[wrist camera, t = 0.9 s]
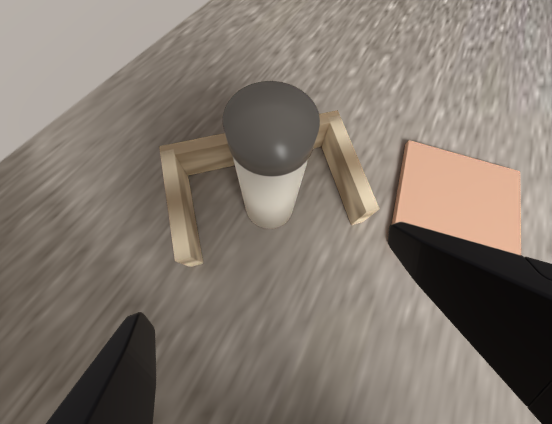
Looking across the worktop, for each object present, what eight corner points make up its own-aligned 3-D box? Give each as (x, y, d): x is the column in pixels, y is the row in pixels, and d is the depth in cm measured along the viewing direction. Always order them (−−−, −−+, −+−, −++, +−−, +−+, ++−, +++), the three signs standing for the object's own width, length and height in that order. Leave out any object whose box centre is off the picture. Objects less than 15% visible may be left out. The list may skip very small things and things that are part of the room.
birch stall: (362, 222, 25) (379, 208, 21) (190, 266, 23) (174, 261, 19) (328, 135, 28) (337, 110, 24) (174, 168, 26) (159, 146, 22)
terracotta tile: (513, 282, 23) (521, 282, 23) (388, 243, 24) (392, 242, 23) (513, 175, 27) (520, 171, 26) (405, 144, 28) (409, 140, 27)
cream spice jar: (303, 202, 25) (338, 113, 13) (273, 240, 24) (279, 180, 12) (266, 174, 26) (264, 67, 14) (234, 209, 25) (202, 123, 12)
